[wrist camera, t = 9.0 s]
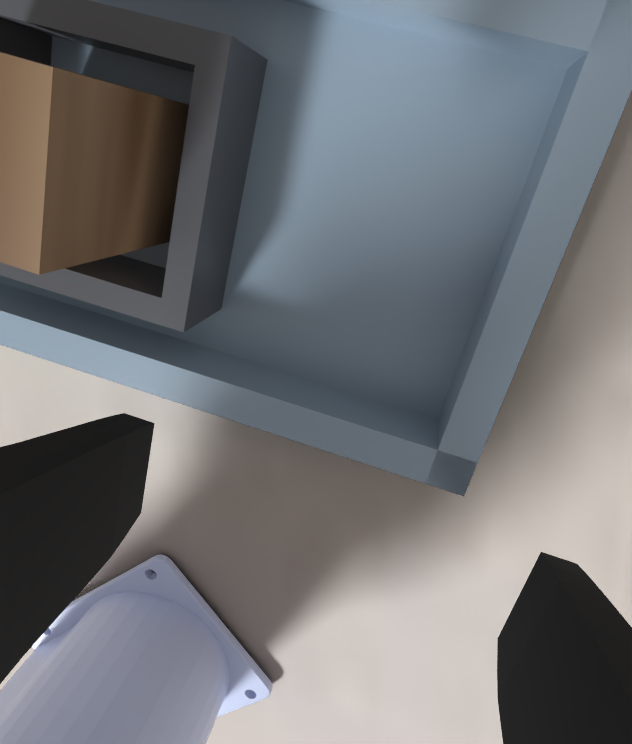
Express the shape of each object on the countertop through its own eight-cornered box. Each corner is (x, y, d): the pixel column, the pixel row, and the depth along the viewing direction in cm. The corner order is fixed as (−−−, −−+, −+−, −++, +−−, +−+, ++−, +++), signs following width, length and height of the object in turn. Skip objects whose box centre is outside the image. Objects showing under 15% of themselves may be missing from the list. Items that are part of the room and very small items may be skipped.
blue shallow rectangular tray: (-51, 292, 21) (-135, 313, 18) (-54, -126, 16) (-170, -196, 13) (460, 455, 19) (464, 510, 16) (630, 30, 14) (683, -10, 11)
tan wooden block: (70, 205, 19) (-125, 221, 12) (81, 74, 17) (-135, 14, 11) (181, 238, 18) (39, 274, 12) (202, 108, 17) (53, 67, 10)
